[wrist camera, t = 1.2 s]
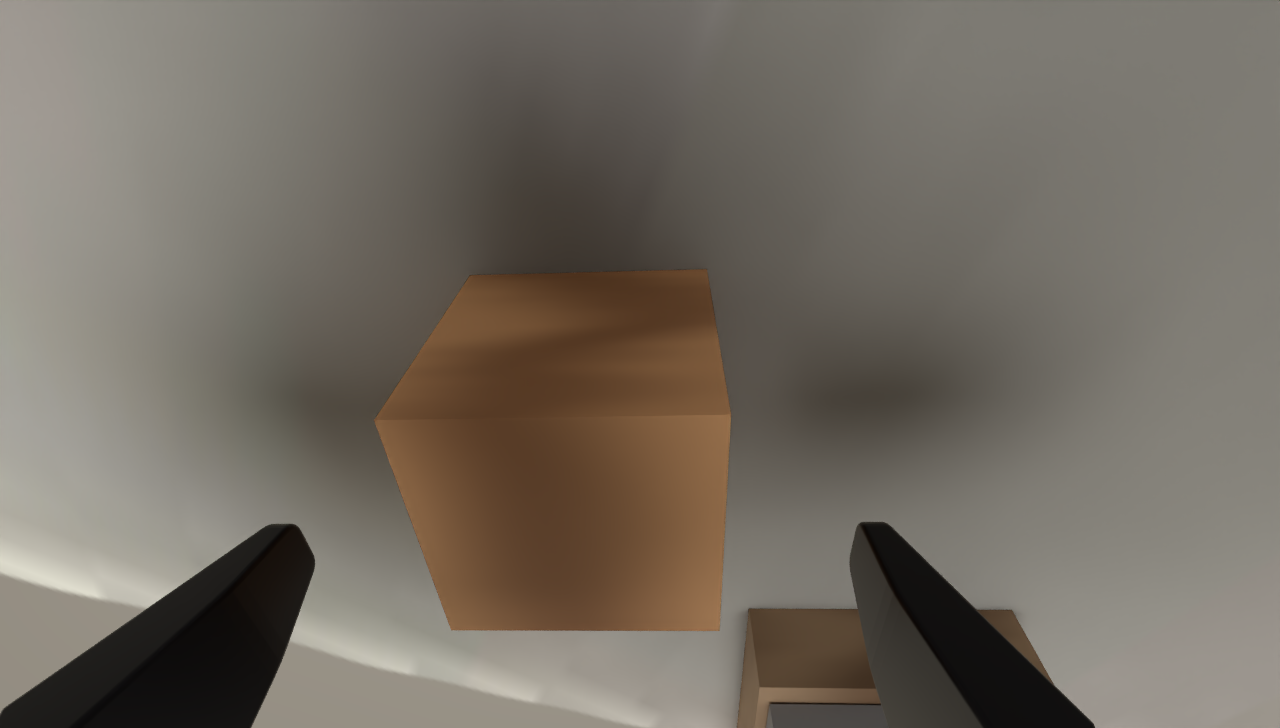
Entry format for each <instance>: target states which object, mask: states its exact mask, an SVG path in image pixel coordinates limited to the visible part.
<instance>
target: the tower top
mask: <svg viewBox="0 0 1280 728" xmlns="http://www.w3.org/2000/svg"><path fill="white" fill-rule="evenodd" d="M766 728H888V725H887V722H886V718H885V715H884V712H883V709H882V706H881V705H812V704H770V705H769V711H768V717H767V723H766Z"/></svg>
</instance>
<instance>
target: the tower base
mask: <svg viewBox="0 0 1280 728" xmlns="http://www.w3.org/2000/svg"><path fill="white" fill-rule="evenodd" d="M977 611H978V612H979V613H980V614H981V615H982V616H984V617H985V618H986V619H987V620H988V621H989V622H990V623H991V624H992V625H993V626H994V627H995V628H996V629H997V630H998V631H999V632H1000V633H1001V634H1002V635H1003V636H1004V637H1005V638H1006V639H1007V640H1008V641H1009V642H1010V643H1011V644H1012V645H1013V646H1014V647H1015V648H1016V649H1017V650H1018V651H1019V652H1021V653H1022V654H1023V655H1024V656H1025V657H1026V658H1027V659H1028V660H1029V661H1030V662H1031V663H1032V664H1033V665H1034V666H1035V667H1036V668H1037V669H1038V670H1039V671H1040V672H1041V673H1042V674H1043V675H1044V676H1045V677H1046V678H1047V679H1048V680H1049V681H1050V682H1051V683H1052V684H1053V682H1052V680H1051V679H1050V677H1049V675H1048V673H1047V672H1046V670H1045V668H1044V666H1043V664H1042V663H1041V661H1040V659H1039V657H1038V656H1037V654H1036V652H1035V650H1034V649H1033V647H1032V645H1031V643H1030V641H1029V640H1028V638H1027V636H1026V634H1025V633H1024V631H1023V629H1022V627H1021V625H1020V624H1019V622H1018V620H1017V618H1016V617H1015V615H1014V613H1013V611H1012V610H977ZM1053 685H1054V684H1053ZM770 704H812V705H881V703H880V699H879V696H878V693H877V690H876V687H875V684H874V680H873V677H872V673H871V670H870V665H869V661H868V656H867V652H866V647H865V642H864V637H863V632H862V627H861V622H860V617H859V612H858V609H749V612H748V622H747V632H746V642H745V652H744V662H743V673H742V683H741V693H740V703H739V713H738V723H737V728H766V723H767V717H768V711H769V705H770Z"/></svg>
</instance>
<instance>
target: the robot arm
mask: <svg viewBox="0 0 1280 728" xmlns="http://www.w3.org/2000/svg"><path fill="white" fill-rule="evenodd" d="M314 567H315V558H314V555H313V553H312V551H311V549H310V547H309V545H308V543H307V541H306V539H305V537H304V535H303V533H302V532H301V530H300V528H299V527H298V526H296V525H295V524H271V525H268V526H266V527H264V528H262V529H261V530H259V531H258V532H257V533H255V534H254V535H252V536H251V537H249V538H248V539H247V540H245V541H244V542H242V543H241V544H239V545H238V546H236V547H235V548H234V549H232V550H231V551H229V552H228V553H226V554H225V555H224V556H222V557H221V558H219V559H218V560H216V561H215V562H213V563H212V564H211V565H209V566H208V567H206V568H205V569H203V570H202V571H200V572H199V573H198V574H196V575H195V576H193V577H192V578H190V579H189V580H188V581H186V582H185V583H183V584H182V585H180V586H179V587H177V588H176V589H175V590H173V591H172V592H170V593H169V594H167V595H166V596H165V597H163V598H162V599H160V600H159V601H157V602H156V603H154V604H153V605H152V606H150V607H149V608H147V609H146V610H144V611H143V612H142V613H140V614H139V615H137V616H136V617H134V618H133V619H132V620H130V621H129V622H127V623H126V624H124V625H123V626H121V627H120V628H118V629H117V630H116V631H114V632H113V633H111V634H110V635H108V636H107V637H106V638H104V639H103V640H101V641H100V642H98V643H97V644H95V645H94V646H93V647H91V648H90V649H88V650H87V651H85V652H84V653H82V654H81V655H80V656H78V657H77V658H75V659H74V660H72V661H71V662H70V663H68V664H67V665H66V666H64V667H62V668H61V669H59V670H58V671H57V672H55V673H54V674H52V675H51V676H49V677H48V678H47V679H45V680H44V681H42V682H41V683H40V684H38V685H36V686H35V687H34V688H32V689H31V690H30V691H28V692H26V693H25V694H23V695H22V696H21V697H19V698H18V699H16V700H15V701H13V702H12V703H11V704H9V705H8V706H6V707H5V708H4V709H3V710H2V711H1V713H0V728H251V727H252V725H253V723H254V720H255V718H256V716H257V714H258V712H259V710H260V708H261V705H262V703H263V701H264V699H265V697H266V695H267V693H268V690H269V688H270V686H271V684H272V682H273V680H274V678H275V675H276V673H277V671H278V668H279V666H280V664H281V661H282V659H283V656H284V654H285V651H286V649H287V646H288V643H289V640H290V637H291V634H292V632H293V629H294V626H295V623H296V620H297V617H298V615H299V612H300V609H301V606H302V603H303V601H304V598H305V595H306V592H307V589H308V586H309V584H310V581H311V578H312V575H313V572H314ZM850 572H851V577H852V582H853V587H854V592H855V597H856V602H857V607H858V612H859V617H860V622H861V627H862V632H863V637H864V642H865V647H866V652H867V656H868V661H869V665H870V670H871V673H872V677H873V680H874V684H875V687H876V690H877V693H878V696H879V699H880V703H881V706H882V709H883V712H884V715H885V718H886V722H887V725H888V728H1095V726H1094V724H1093V723H1092V722H1091V721H1090V720H1089V719H1088V718H1087V717H1086V716H1085V715H1084V714H1083V713H1082V712H1081V711H1080V710H1079V709H1078V708H1077V707H1076V706H1075V705H1074V704H1073V703H1072V702H1071V701H1070V700H1069V699H1068V698H1067V697H1066V696H1065V695H1064V694H1063V693H1062V692H1061V691H1060V690H1059V689H1058V688H1057V687H1055V686H1054V685H1053V684H1052V683H1051V682H1050V681H1049V680H1048V679H1047V678H1046V677H1045V676H1044V675H1043V674H1042V673H1041V672H1040V671H1039V670H1038V669H1037V668H1036V667H1035V666H1034V665H1033V664H1032V663H1031V662H1030V661H1029V660H1028V659H1027V658H1026V657H1025V656H1024V655H1023V654H1022V653H1021V652H1019V651H1018V650H1017V649H1016V648H1015V647H1014V646H1013V645H1012V644H1011V643H1010V642H1009V641H1008V640H1007V639H1006V638H1005V637H1004V636H1003V635H1002V634H1001V633H1000V632H999V631H998V630H997V629H996V628H995V627H994V626H993V625H992V624H991V623H990V622H989V621H988V620H987V619H986V618H985V617H984V616H982V615H981V614H980V613H979V612H978V611H977V610H976V609H975V608H974V607H973V606H972V605H971V604H970V603H969V602H968V601H967V600H966V599H965V598H964V597H963V596H962V595H961V594H960V593H959V592H958V591H957V590H956V589H955V588H954V587H953V586H952V585H951V584H950V583H949V582H948V581H946V580H945V579H944V578H943V577H942V576H941V575H940V574H939V573H938V572H937V571H936V570H935V569H934V568H933V567H932V566H931V565H930V564H929V563H928V562H927V561H926V560H925V559H924V558H923V557H922V556H921V555H920V554H919V553H918V552H917V551H916V550H915V549H914V548H913V547H912V546H911V545H909V544H908V543H907V542H906V541H905V540H904V539H903V538H902V537H901V536H900V535H899V534H898V533H897V532H896V531H895V530H894V529H893V528H892V527H891V526H890V525H888V524H887V523H884V522H861V523H859V524H858V526H857V528H856V532H855V537H854V541H853V545H852V550H851V554H850Z"/></svg>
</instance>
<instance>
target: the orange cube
mask: <svg viewBox="0 0 1280 728" xmlns="http://www.w3.org/2000/svg"><path fill="white" fill-rule="evenodd" d="M374 422H375V424H376V427H377V430H378V432H379V435H380V438H381V441H382V443H383V446H384V449H385V451H386V454H387V457H388V460H389V462H390V465H391V468H392V470H393V473H394V476H395V479H396V481H397V484H398V487H399V490H400V492H401V495H402V498H403V500H404V503H405V506H406V509H407V511H408V514H409V517H410V519H411V522H412V525H413V528H414V530H415V533H416V536H417V538H418V541H419V544H420V547H421V549H422V552H423V555H424V557H425V560H426V563H427V566H428V568H429V571H430V574H431V576H432V579H433V582H434V585H435V587H436V590H437V593H438V595H439V598H440V601H441V604H442V606H443V609H444V612H445V614H446V617H447V620H448V623H449V625H450V628H451V630H581V631H719V629H720V610H721V592H722V573H723V555H724V536H725V518H726V499H727V481H728V462H729V444H730V425H731V411H730V405H729V399H728V393H727V387H726V381H725V375H724V369H723V363H722V357H721V351H720V345H719V339H718V333H717V327H716V321H715V315H714V309H713V303H712V297H711V291H710V285H709V279H708V273H707V269H693V270H654V271H615V272H576V273H537V274H499V275H470V276H469V278H468V279H467V281H466V282H465V284H464V285H463V287H462V288H461V290H460V291H459V293H458V294H457V296H456V297H455V299H454V300H453V302H452V303H451V305H450V306H449V308H448V309H447V311H446V312H445V314H444V315H443V317H442V318H441V320H440V321H439V323H438V324H437V326H436V327H435V329H434V330H433V332H432V333H431V335H430V336H429V338H428V340H427V341H426V343H425V344H424V346H423V347H422V349H421V350H420V352H419V353H418V355H417V356H416V358H415V359H414V361H413V362H412V364H411V365H410V367H409V368H408V370H407V371H406V373H405V374H404V376H403V377H402V379H401V380H400V382H399V383H398V385H397V386H396V388H395V389H394V391H393V392H392V394H391V395H390V397H389V398H388V400H387V401H386V403H385V404H384V406H383V407H382V409H381V410H380V412H379V413H378V415H377V416H376V418H375V419H374Z"/></svg>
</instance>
